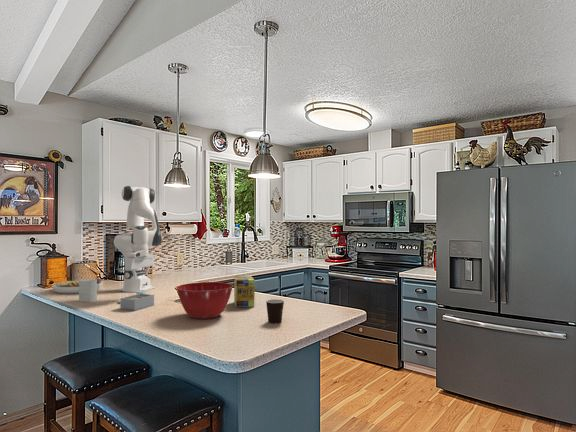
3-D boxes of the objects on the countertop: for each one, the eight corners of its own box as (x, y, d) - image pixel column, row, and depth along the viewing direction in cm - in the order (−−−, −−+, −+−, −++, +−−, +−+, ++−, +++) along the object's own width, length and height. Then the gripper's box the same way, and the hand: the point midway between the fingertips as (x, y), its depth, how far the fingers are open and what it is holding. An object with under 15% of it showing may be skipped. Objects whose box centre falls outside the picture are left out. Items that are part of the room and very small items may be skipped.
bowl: (49, 296, 249) (49, 284, 249) (55, 288, 276) (55, 277, 277) (101, 293, 261) (101, 281, 261) (102, 285, 289) (102, 275, 289)
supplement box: (97, 299, 239) (97, 278, 239) (90, 302, 231) (90, 280, 231) (85, 299, 239) (86, 278, 240) (78, 301, 232) (78, 280, 232)
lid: (137, 297, 243) (137, 290, 243) (150, 298, 239) (150, 291, 239) (117, 302, 229) (117, 294, 229) (131, 303, 225) (131, 296, 225)
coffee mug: (277, 325, 184) (277, 303, 184) (262, 322, 189) (262, 301, 189) (290, 319, 194) (290, 299, 194) (275, 317, 198) (276, 297, 199)
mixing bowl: (172, 312, 208) (172, 283, 208) (225, 307, 219) (225, 280, 220) (180, 325, 182) (180, 292, 182) (239, 319, 193) (239, 288, 194)
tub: (140, 303, 227) (140, 293, 227) (154, 305, 224) (154, 294, 224) (120, 309, 213) (120, 298, 214) (134, 311, 210) (134, 299, 210)
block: (139, 304, 223) (139, 295, 223) (145, 304, 222) (145, 296, 222) (136, 305, 220) (136, 296, 220) (141, 305, 219) (141, 297, 219)
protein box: (236, 308, 219) (236, 280, 219) (234, 302, 234) (234, 276, 234) (254, 307, 221) (254, 279, 221) (251, 301, 236) (251, 275, 236)
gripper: (148, 250, 250) (148, 272, 250) (124, 254, 231) (124, 277, 231) (156, 251, 247) (156, 272, 248) (132, 254, 228) (132, 278, 229)
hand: (140, 275), depth 239 cm, fingers open, 8 cm apart
